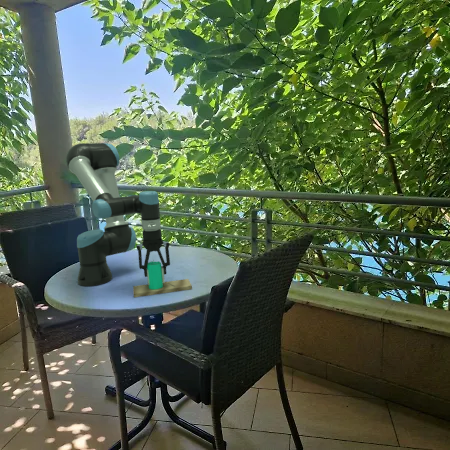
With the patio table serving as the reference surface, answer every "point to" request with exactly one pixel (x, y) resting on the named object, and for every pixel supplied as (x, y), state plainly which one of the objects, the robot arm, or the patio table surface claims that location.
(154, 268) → the candle
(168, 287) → the oak board
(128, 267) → the patio table surface
